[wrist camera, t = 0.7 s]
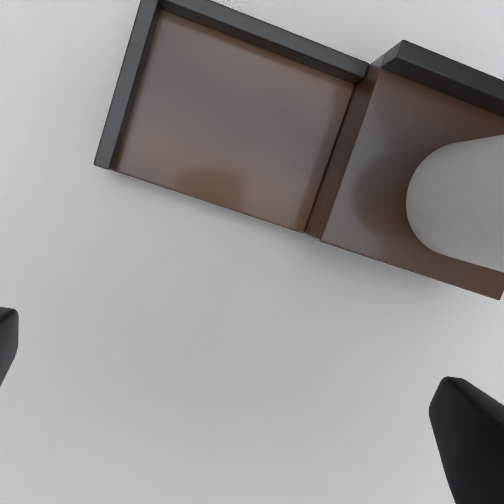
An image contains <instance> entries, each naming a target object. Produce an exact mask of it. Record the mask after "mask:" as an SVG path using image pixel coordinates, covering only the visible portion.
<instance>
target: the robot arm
mask: <svg viewBox="0 0 504 504" xmlns="http://www.w3.org/2000/svg"><path fill="white" fill-rule="evenodd" d="M18 323H19V316H18V312H17V311H16V310H15V309H11V308H5V307H0V386H1V384H2V382H3V380H4V378H5V376H6V374H7V372H8V370H9V368H10V366H11V364H12V362H13V360H14V358H15V355H16V352H17V348H18ZM429 417H430V421H431V425H432V428H433V432H434V435H435V439H436V443H437V446H438V450H439V453H440V457H441V461H442V464H443V468H444V471H445V475H446V478H447V481H448V484H449V487H450V490H451V493H452V495H453V498H454V500H455V503H456V504H504V405H502V404H501V403H499V402H498V401H496V400H495V399H493V398H492V397H490V396H489V395H487V394H486V393H484V392H483V391H481V390H480V389H478V388H477V387H475V386H474V385H472V384H471V383H469V382H468V381H466V380H464V379H462V378H455V377H444V378H443V379H442V380H441V382H440V384H439V386H438V388H437V390H436V392H435V394H434V397H433V399H432V401H431V403H430V406H429Z"/></svg>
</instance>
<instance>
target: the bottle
mask: <svg viewBox="0 0 504 504" xmlns="http://www.w3.org/2000/svg"><path fill="white" fill-rule="evenodd" d="M406 212H407V217H408V221H409V223H410V226H411V228H412V230H413V232H414V234H415V235H416V236H417V238H418V239H419V240H420V241H421V242H422V243H423V244H424V245H425V246H426V247H428V248H429V249H431V250H432V251H434V252H437V253H439V254H442V255H445V256H449V257H452V258H456V259H459V260H463V261H466V262H469V263H473V264H476V265H480V266H483V267H487V268H490V269H493V270H497V271H500V272H504V135H498V136H492V137H487V138H481V139H475V140H469V141H463V142H458V143H452V144H449V145H445V146H443V147H441V148H439V149H437V150H435V151H434V152H432V153H431V154H430V155H429V156H427V157H426V158H425V159H424V160H423V161H422V162H421V164H420V165H419V166H418V168H417V169H416V171H415V172H414V174H413V176H412V178H411V180H410V183H409V186H408V190H407V195H406Z"/></svg>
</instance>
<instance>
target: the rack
mask: <svg viewBox="0 0 504 504" xmlns="http://www.w3.org/2000/svg"><path fill="white" fill-rule="evenodd" d="M498 135H504V81H503V80H501V79H498V78H496V77H493V76H491V75H488V74H486V73H484V72H481V71H479V70H476V69H474V68H471V67H469V66H467V65H464V64H462V63H459V62H457V61H454V60H452V59H449V58H447V57H445V56H442V55H440V54H437V53H435V52H432V51H430V50H428V49H425V48H423V47H420V46H418V45H415V44H413V43H411V42H408V41H406V40H402V41H401V42H399V43H398V44H397V45H395V46H394V47H393V48H391V49H390V50H389V51H387V52H386V53H385V54H383V55H382V56H381V57H379V58H378V59H377V60H375V61H374V62H372V63H371V64H370V65H369V63H367V62H364V61H362V60H359V59H357V58H354V57H352V56H349V55H347V54H344V53H342V52H339V51H337V50H334V49H332V48H329V47H327V46H324V45H322V44H319V43H317V42H314V41H312V40H309V39H307V38H304V37H301V36H299V35H296V34H294V33H291V32H289V31H286V30H284V29H281V28H279V27H276V26H274V25H271V24H269V23H266V22H264V21H261V20H259V19H256V18H254V17H251V16H249V15H246V14H244V13H241V12H239V11H236V10H234V9H231V8H229V7H226V6H224V5H221V4H219V3H216V2H214V1H211V0H141V1H140V4H139V8H138V11H137V15H136V18H135V22H134V25H133V29H132V32H131V36H130V39H129V43H128V46H127V49H126V53H125V56H124V60H123V63H122V67H121V70H120V74H119V77H118V81H117V84H116V88H115V91H114V94H113V98H112V101H111V105H110V108H109V112H108V115H107V119H106V122H105V126H104V129H103V133H102V136H101V140H100V143H99V146H98V150H97V153H96V157H95V160H94V165H95V166H98V167H101V168H104V169H108V170H113V171H116V172H119V173H122V174H125V175H128V176H131V177H134V178H137V179H140V180H143V181H146V182H149V183H152V184H155V185H158V186H161V187H164V188H167V189H170V190H173V191H176V192H179V193H183V194H186V195H189V196H192V197H195V198H198V199H201V200H204V201H207V202H210V203H213V204H216V205H219V206H222V207H225V208H228V209H231V210H234V211H237V212H240V213H243V214H246V215H249V216H252V217H255V218H258V219H261V220H264V221H267V222H270V223H273V224H276V225H279V226H282V227H285V228H288V229H291V230H294V231H297V232H300V233H304V234H306V235H308V236H310V237H312V238H314V239H316V240H318V241H321V242H323V243H326V244H329V245H332V246H335V247H338V248H342V249H345V250H348V251H351V252H354V253H357V254H360V255H363V256H366V257H369V258H372V259H375V260H378V261H381V262H384V263H387V264H390V265H393V266H396V267H399V268H402V269H405V270H408V271H411V272H414V273H417V274H420V275H423V276H426V277H429V278H432V279H436V280H439V281H442V282H445V283H448V284H451V285H454V286H457V287H460V288H463V289H466V290H469V291H472V292H475V293H478V294H481V295H484V296H487V297H490V298H493V299H496V300H500V298H501V296H502V293H503V291H504V272H500V271H497V270H493V269H490V268H487V267H483V266H480V265H476V264H473V263H469V262H466V261H463V260H459V259H456V258H452V257H449V256H445V255H442V254H439V253H437V252H434V251H432V250H431V249H429V248H428V247H426V246H425V245H424V244H423V243H422V242H421V241H420V240H419V239H418V238H417V236H416V235H415V234H414V232H413V230H412V228H411V226H410V223H409V221H408V217H407V212H406V195H407V190H408V186H409V183H410V180H411V178H412V176H413V174H414V172H415V171H416V169H417V168H418V166H419V165H420V164H421V162H422V161H423V160H424V159H425V158H426V157H427V156H429V155H430V154H431V153H432V152H434V151H435V150H437V149H439V148H441V147H443V146H445V145H449V144H452V143H458V142H463V141H469V140H475V139H481V138H487V137H492V136H498Z"/></svg>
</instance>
